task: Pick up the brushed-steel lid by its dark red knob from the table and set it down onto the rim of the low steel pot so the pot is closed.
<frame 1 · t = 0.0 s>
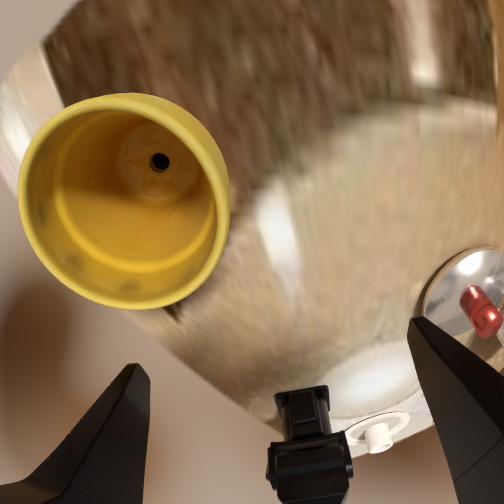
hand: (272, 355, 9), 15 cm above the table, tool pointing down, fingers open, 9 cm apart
lid: (463, 286, 28), on the table
plant pot: (162, 157, 21), on the table
candle holder: (375, 425, 44), on the table
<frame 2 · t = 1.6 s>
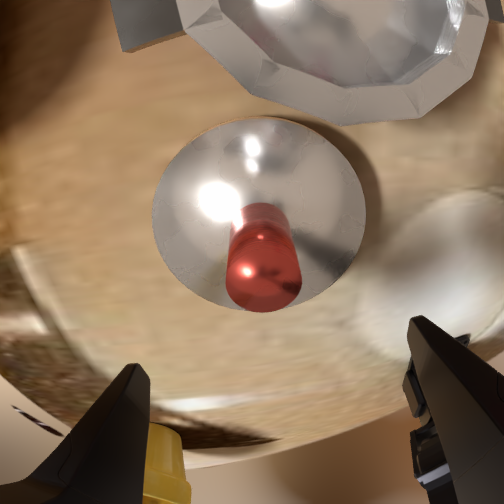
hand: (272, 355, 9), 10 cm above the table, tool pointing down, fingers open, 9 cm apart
lid: (258, 214, 18), on the table
plant pot: (154, 431, 33), on the table
pot: (313, 1, 11), on the table
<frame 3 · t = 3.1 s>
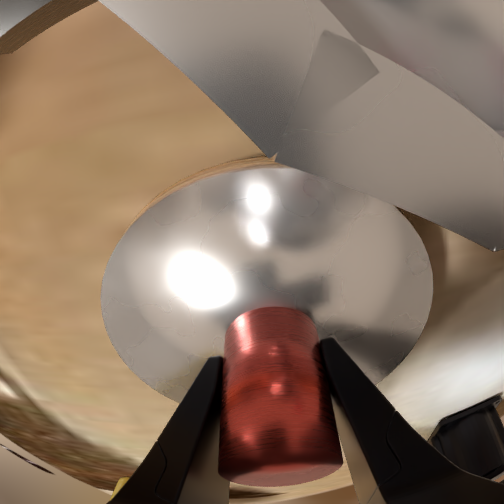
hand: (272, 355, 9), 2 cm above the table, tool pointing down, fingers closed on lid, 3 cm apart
lid: (268, 304, 12), on the table, touching gripper
plant pot: (147, 484, 27), on the table
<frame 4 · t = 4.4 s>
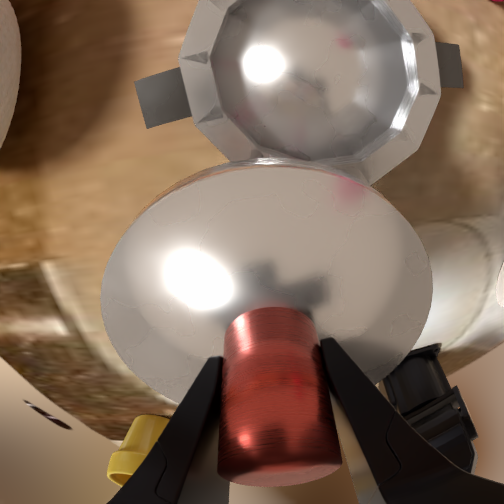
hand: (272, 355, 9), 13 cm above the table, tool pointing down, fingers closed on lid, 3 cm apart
lid: (268, 304, 12), point 10 cm above the table, touching gripper
plant pot: (157, 423, 37), on the table
pot: (299, 69, 16), on the table
when the fingers open (9 cm above the table, at t = 5.8 s): lid stays where it is, resting on pot.
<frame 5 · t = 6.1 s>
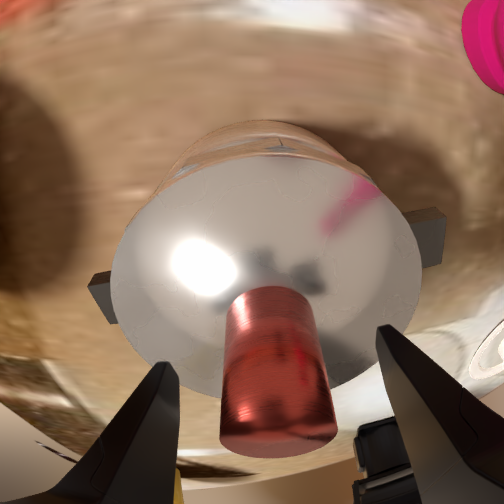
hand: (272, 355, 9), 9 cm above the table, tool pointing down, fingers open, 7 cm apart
pepper mill: (495, 44, 11), on the table
lid: (267, 287, 12), point 5 cm above the table, touching pot
plant pot: (157, 466, 38), on the table
pot: (261, 223, 17), on the table
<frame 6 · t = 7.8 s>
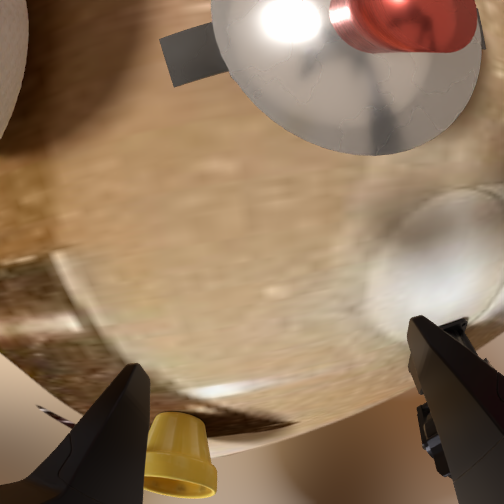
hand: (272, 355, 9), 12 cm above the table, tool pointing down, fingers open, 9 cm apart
lid: (353, 22, 10), point 5 cm above the table, touching pot
plant pot: (179, 421, 36), on the table
pot: (322, 34, 14), on the table
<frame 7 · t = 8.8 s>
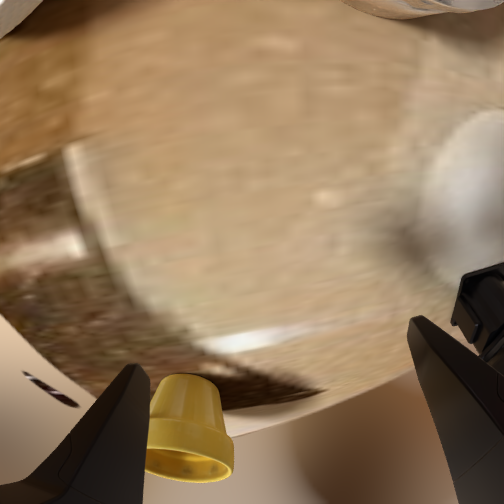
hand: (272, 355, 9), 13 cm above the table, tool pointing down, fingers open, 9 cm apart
plant pot: (188, 388, 32), on the table
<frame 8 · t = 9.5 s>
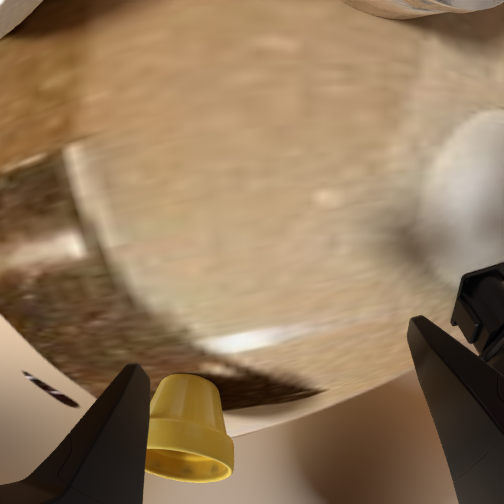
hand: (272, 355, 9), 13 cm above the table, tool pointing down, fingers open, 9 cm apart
plant pot: (188, 388, 32), on the table
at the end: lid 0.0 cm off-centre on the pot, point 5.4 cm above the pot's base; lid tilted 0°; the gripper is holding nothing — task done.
